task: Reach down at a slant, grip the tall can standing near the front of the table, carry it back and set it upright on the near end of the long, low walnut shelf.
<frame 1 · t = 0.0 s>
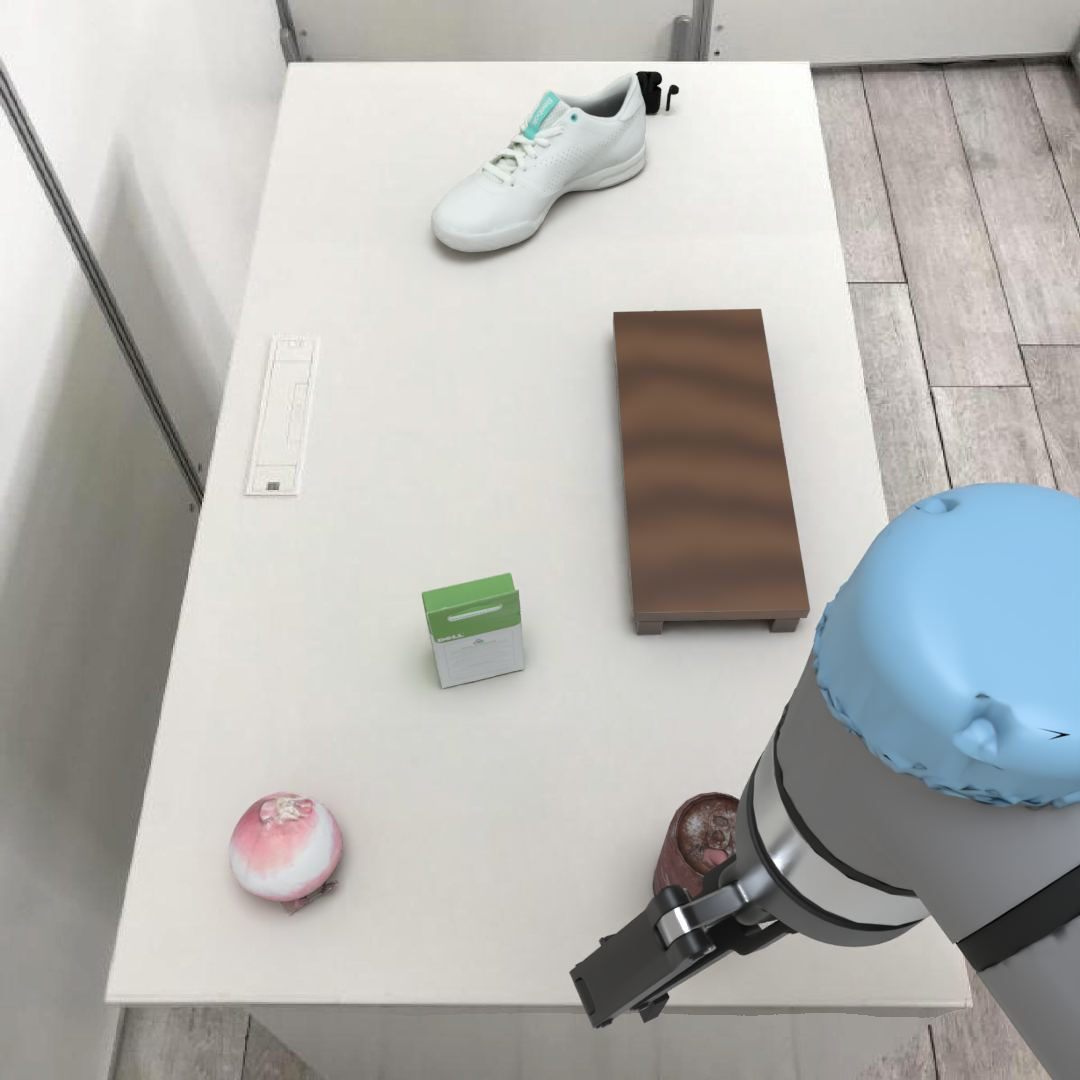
hand: (758, 934, 54), 23 cm above the table, tool pointing down, fingers open, 13 cm apart
can: (694, 890, 77), on the table
ink box: (479, 659, 87), on the table
wireless earbuds: (645, 110, 122), on the table
onion: (296, 861, 79), on the table
running shoe: (537, 198, 115), on the table
shelf: (697, 473, 96), on the table
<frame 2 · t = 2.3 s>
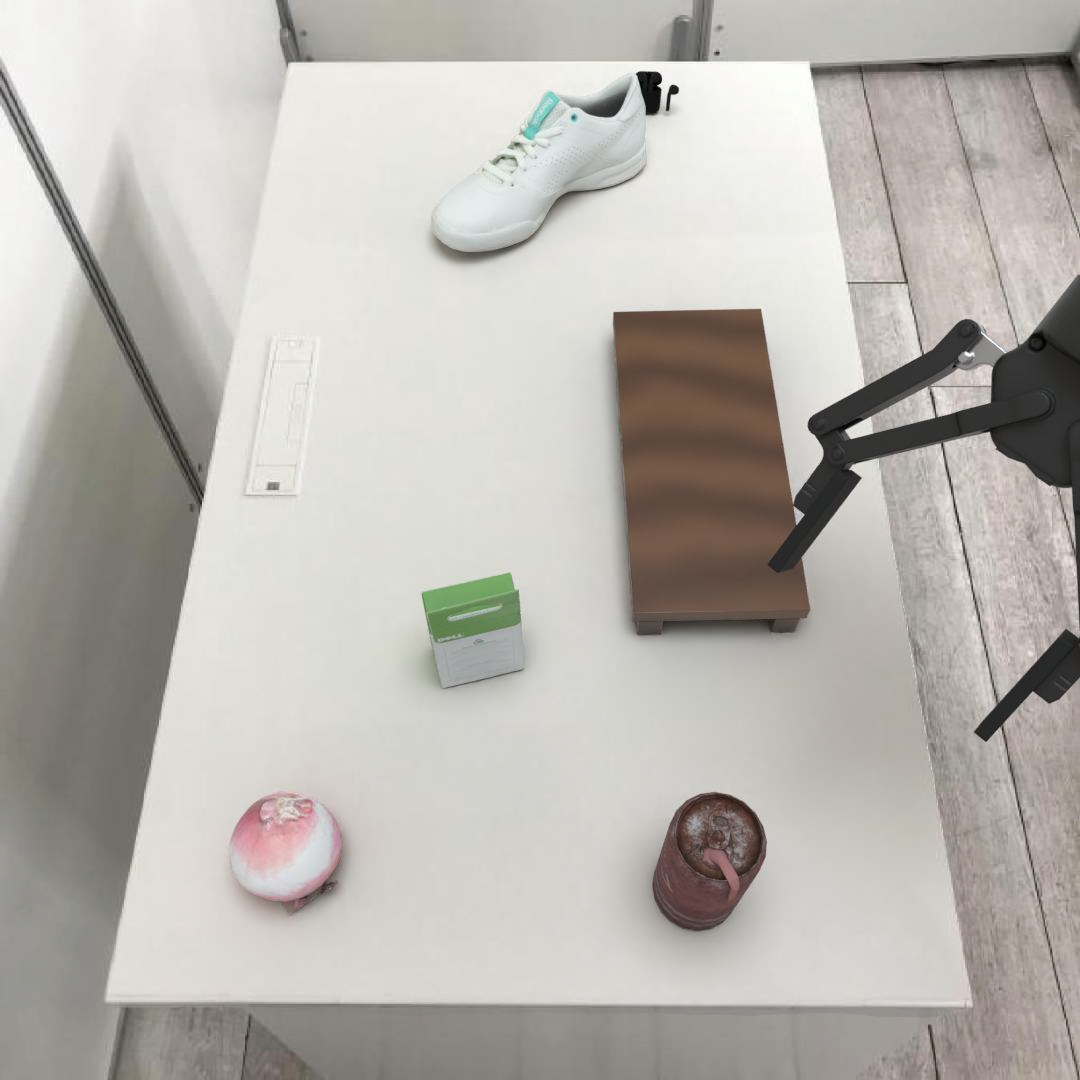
hand: (877, 646, 58), 27 cm above the table, tool tilted 45°, fingers open, 13 cm apart
nothing on the table moved.
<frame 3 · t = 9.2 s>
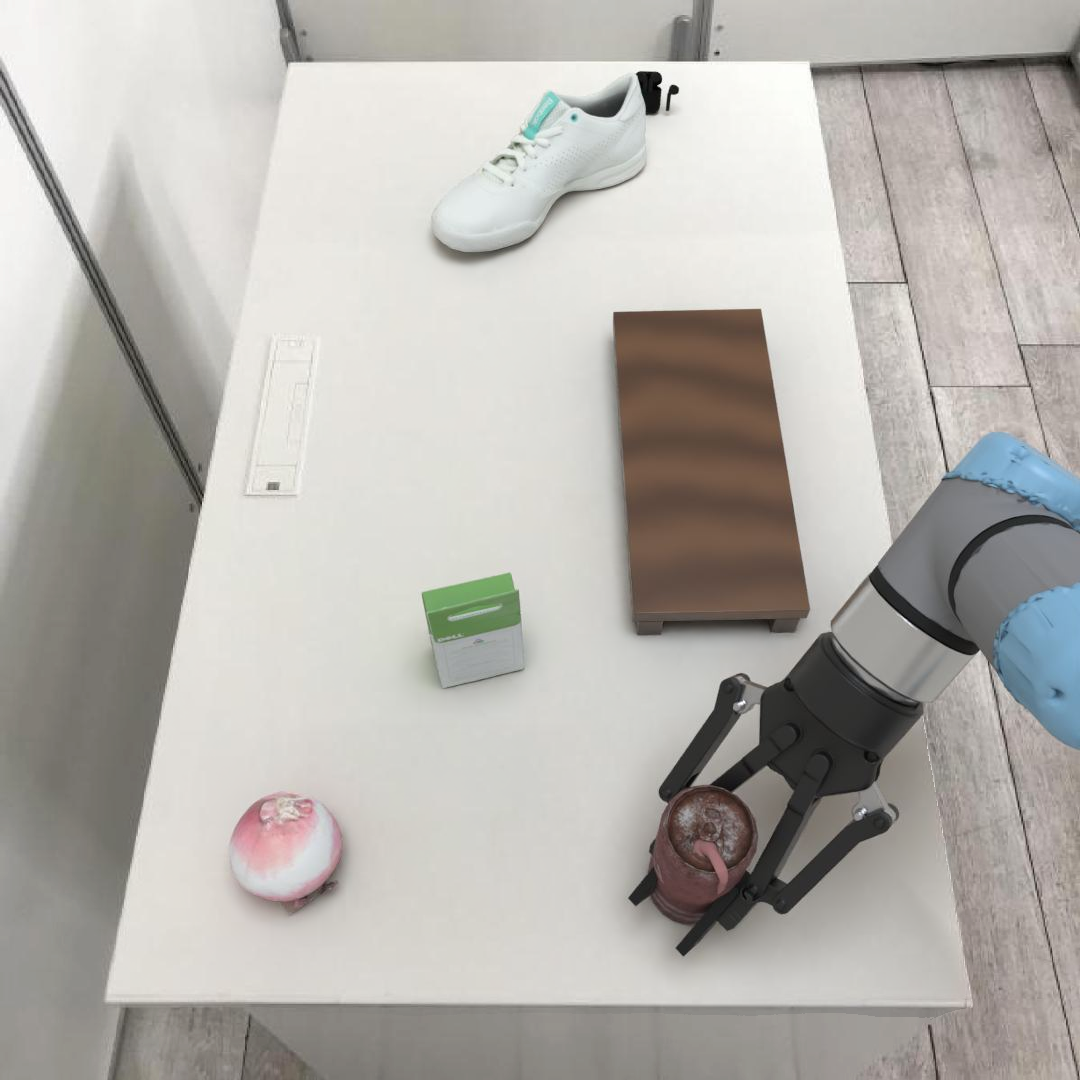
hand: (664, 919, 73), 4 cm above the table, tool tilted 45°, fingers open, 4 cm apart
can: (688, 885, 78), on the table, touching gripper
everything else where it was.
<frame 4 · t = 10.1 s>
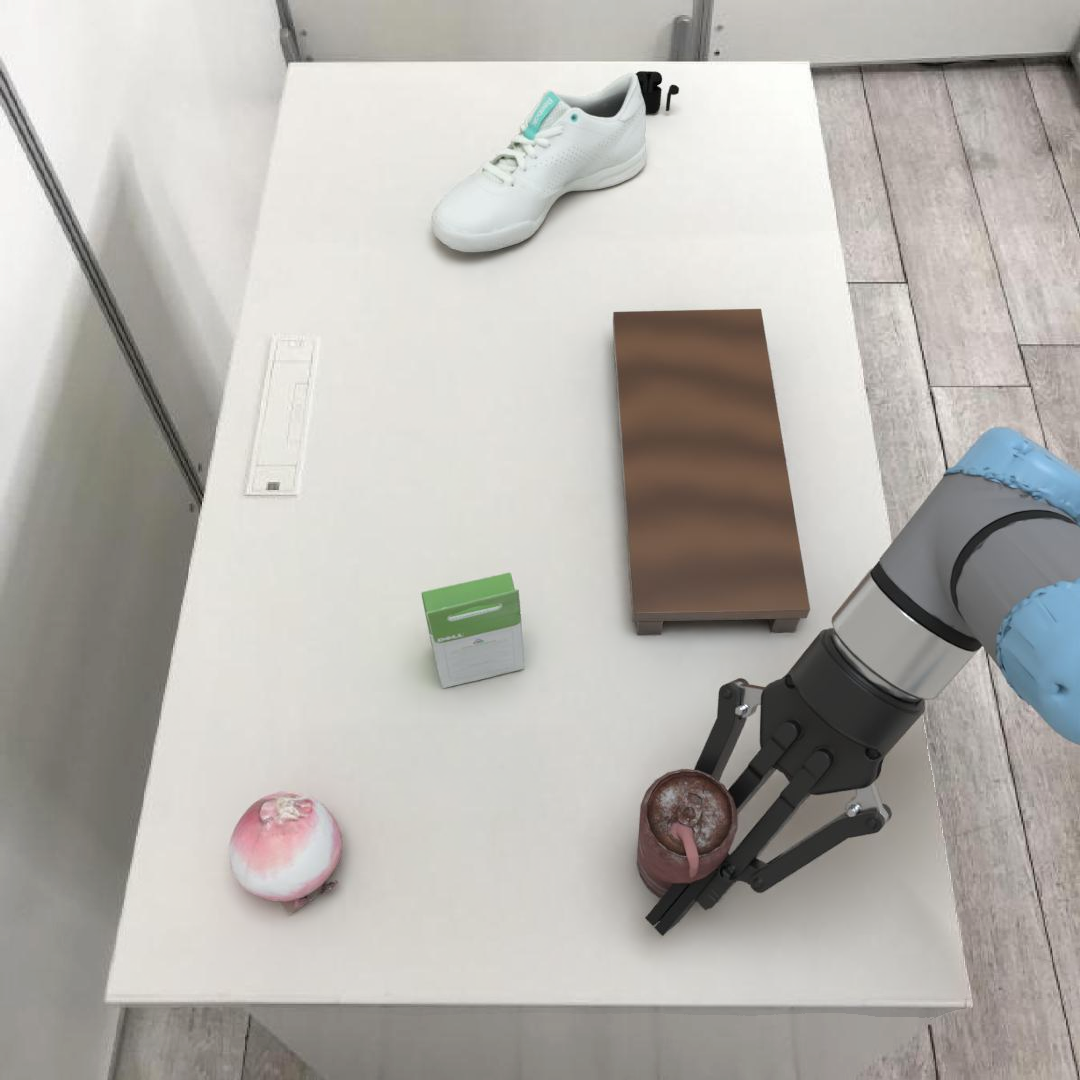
hand: (662, 919, 72), 4 cm above the table, tool tilted 45°, fingers closed
can: (678, 863, 78), on the table, touching gripper, hand
everything else where it was.
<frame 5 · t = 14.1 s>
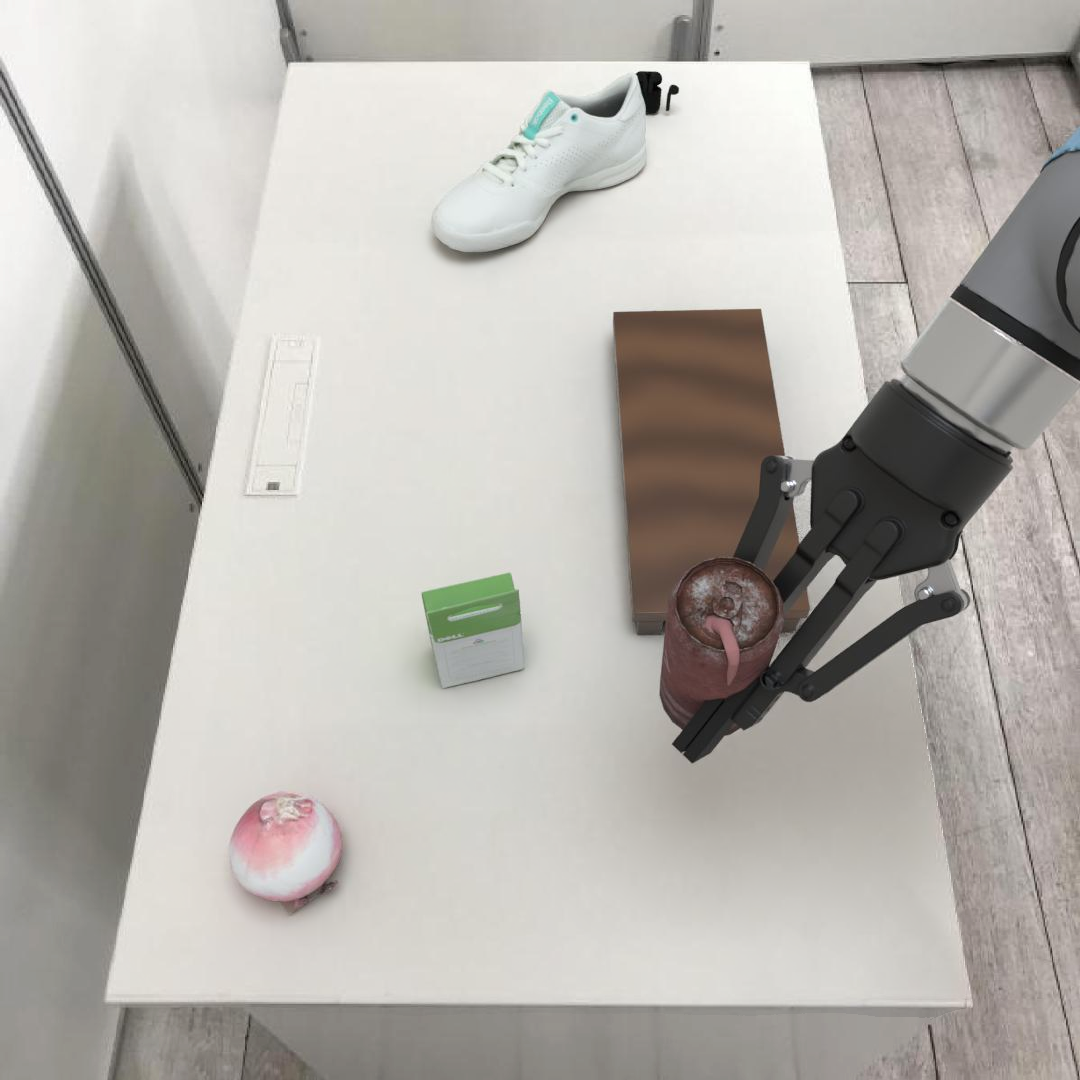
hand: (691, 748, 62), 20 cm above the table, tool tilted 45°, fingers closed
can: (707, 697, 68), point 16 cm above the table, touching gripper, hand
everything else where it was.
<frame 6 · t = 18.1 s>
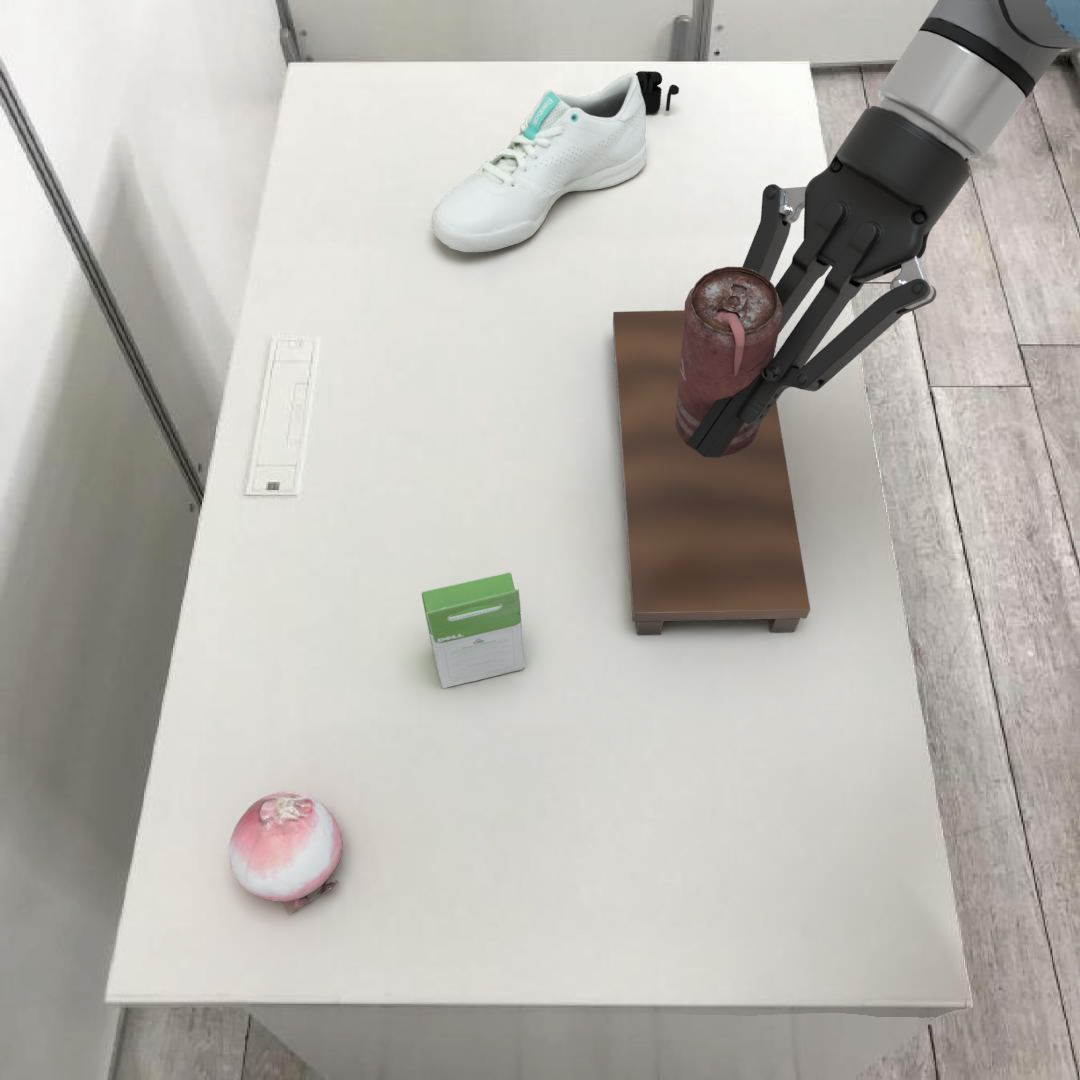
hand: (703, 450, 73), 20 cm above the table, tool tilted 45°, fingers closed
can: (716, 428, 79), point 16 cm above the table, touching gripper, hand
everything else where it was.
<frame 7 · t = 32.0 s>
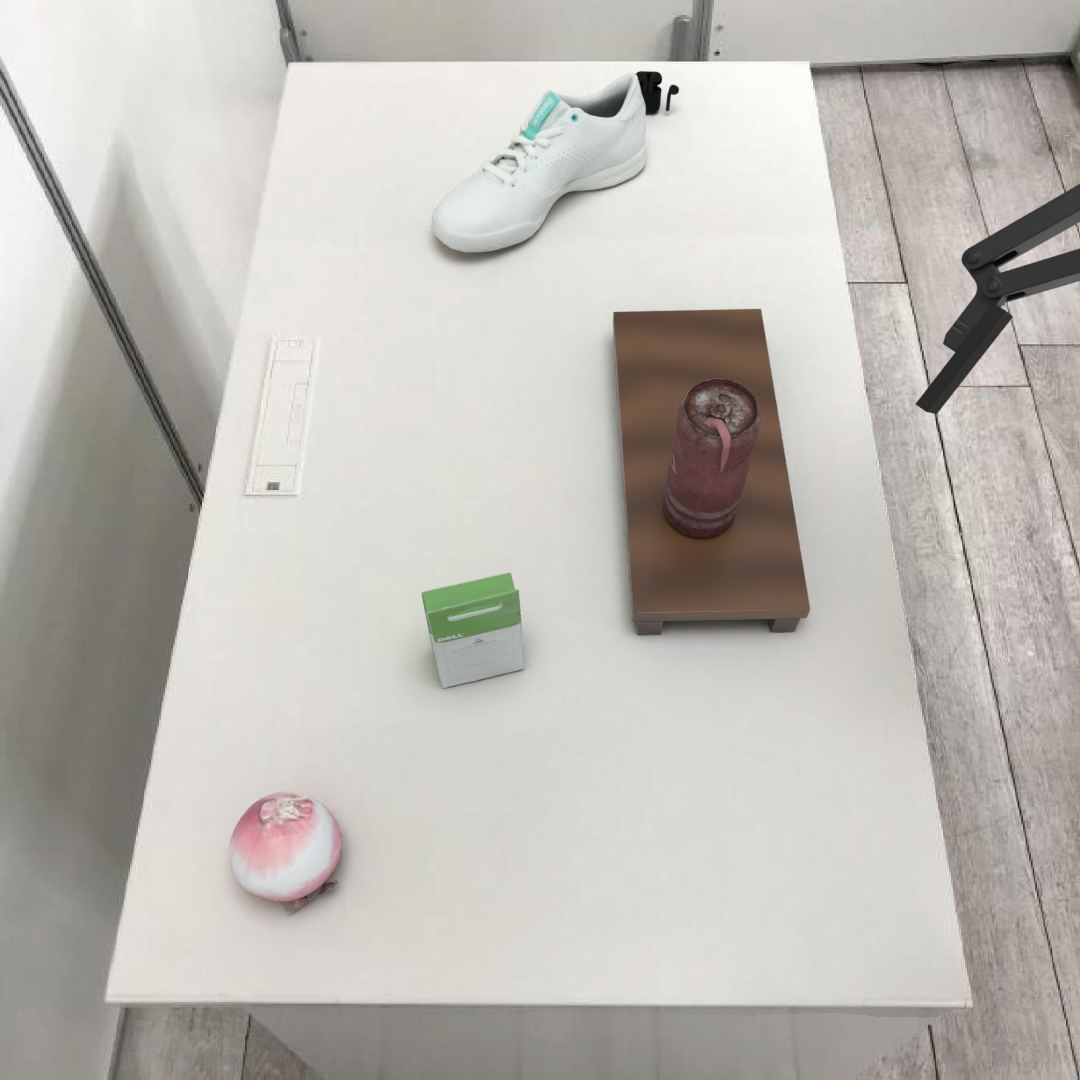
hand: (1029, 483, 57), 32 cm above the table, tool tilted 45°, fingers open, 13 cm apart
can: (699, 512, 89), point 4 cm above the table, touching shelf
everything else where it was.
at the end: can inside the target area on the shelf (2.8 cm from its centre), point 3.8 cm above the shelf's base; can tilted 0°; the gripper is holding nothing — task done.
